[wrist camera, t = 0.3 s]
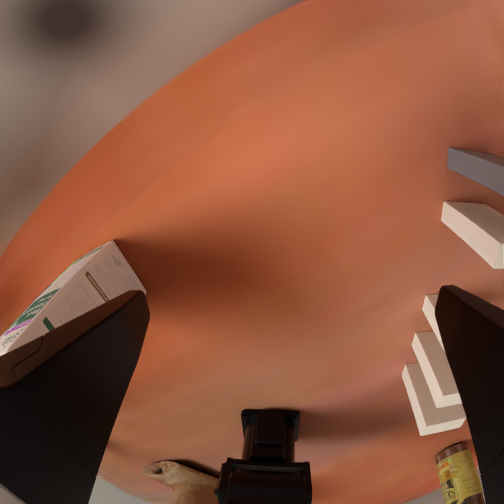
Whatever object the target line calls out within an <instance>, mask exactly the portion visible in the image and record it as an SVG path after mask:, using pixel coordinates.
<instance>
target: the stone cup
mask: <svg viewBox="0 0 504 504" xmlns="http://www.w3.org/2000/svg"><path fill="white" fill-rule="evenodd" d="M142 474H143V475H144V476H146V477H148V478H151V479H153V480H155V481H157V482H159V483H161V484H164V485H166V486H168V487H170V488H172V489H173V491H174V493H175V497H174V501H173V503H172V504H219V502H218V498H217V497H216V496H215V495H214V490H215V487H216V485H217V482H218V478H215V477H212V476H210V475H207V474H205V473H202V472H199V471H197V470H194V469H192V468H189V467H187V466H184V465H181V464H178V463H175V462H171V461H161V462H157V463H153V464H152V465H149V466H147V467H145V468H144V469H143V470H142Z"/></svg>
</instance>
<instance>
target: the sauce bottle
mask: <svg viewBox="0 0 504 504" xmlns="http://www.w3.org/2000/svg"><path fill="white" fill-rule="evenodd" d="M436 464H437V466H436V467H437V471H438V475H439V479H440V484H441V488H442V492H443V497H444V502H445V504H485V502H484V499H483V495H482V494H483V492H482V488H481V484H480V481H479V477H478V474H477V471H476V467H475V464H474V461H473V458H472V455H471V452H470V450H469V448H468V446H467V444H466V443H458V444H455V445H453V446H450V447H448V448H447V449H445V450H444V451H442V452H441V453H440V454H438V456H437V457H436Z"/></svg>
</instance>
